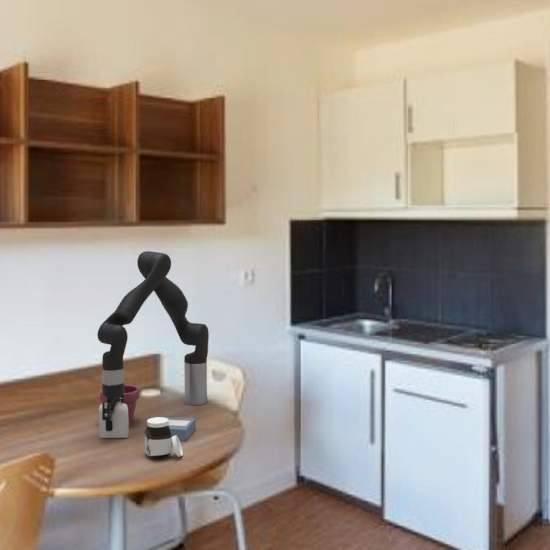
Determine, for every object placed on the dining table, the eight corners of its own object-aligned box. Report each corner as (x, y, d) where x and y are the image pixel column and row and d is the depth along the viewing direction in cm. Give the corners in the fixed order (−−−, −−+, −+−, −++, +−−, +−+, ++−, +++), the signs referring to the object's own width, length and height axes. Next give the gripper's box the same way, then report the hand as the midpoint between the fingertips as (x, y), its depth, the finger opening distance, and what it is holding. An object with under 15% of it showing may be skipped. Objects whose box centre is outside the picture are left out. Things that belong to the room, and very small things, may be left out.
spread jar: (141, 452, 216) (141, 417, 215) (174, 447, 221) (174, 413, 221) (154, 464, 206) (153, 428, 205) (188, 458, 211) (187, 422, 210)
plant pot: (92, 425, 245) (91, 391, 244) (117, 415, 257) (117, 382, 256) (122, 430, 238) (122, 395, 237) (147, 420, 251) (146, 387, 250)
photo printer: (97, 439, 229) (97, 403, 228) (101, 435, 234) (100, 400, 233) (127, 439, 229) (126, 404, 228) (130, 435, 234) (129, 400, 233)
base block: (158, 427, 242) (158, 416, 242) (195, 429, 240) (195, 418, 240) (146, 439, 229) (146, 427, 229) (185, 441, 227) (185, 429, 227)
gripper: (110, 376, 237) (111, 420, 239) (94, 386, 223) (95, 433, 225) (130, 377, 236) (131, 421, 238) (115, 386, 222) (116, 434, 224)
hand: (113, 427), depth 231 cm, fingers open, 8 cm apart
